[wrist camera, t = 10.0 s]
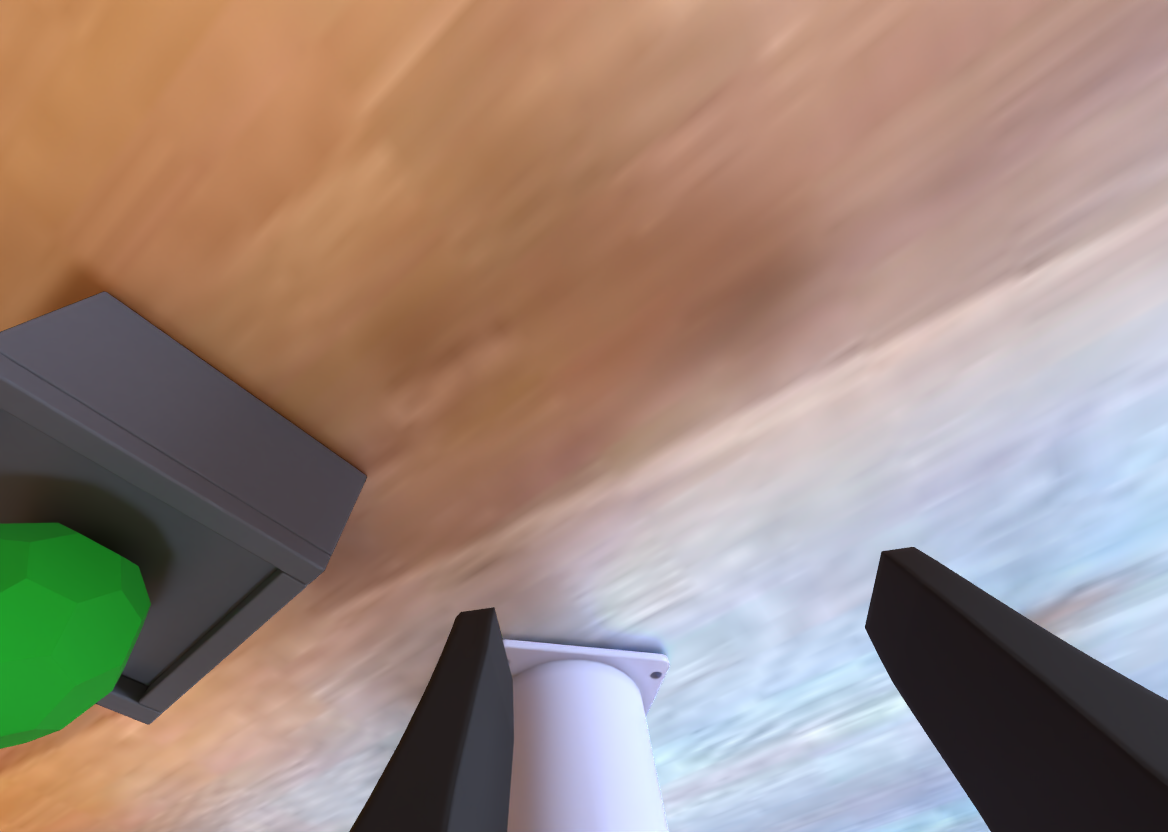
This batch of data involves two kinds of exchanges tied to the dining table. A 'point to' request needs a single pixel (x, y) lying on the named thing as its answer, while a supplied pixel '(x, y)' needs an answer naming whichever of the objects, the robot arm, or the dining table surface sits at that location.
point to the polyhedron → (61, 626)
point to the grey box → (165, 484)
